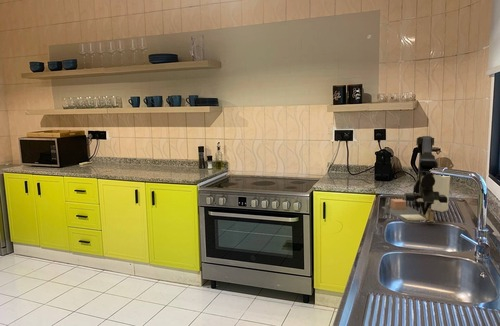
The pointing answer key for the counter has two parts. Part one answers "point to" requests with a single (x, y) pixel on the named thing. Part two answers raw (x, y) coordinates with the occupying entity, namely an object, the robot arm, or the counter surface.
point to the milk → (441, 192)
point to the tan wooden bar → (429, 215)
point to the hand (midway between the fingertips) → (424, 215)
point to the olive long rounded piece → (389, 209)
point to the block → (398, 204)
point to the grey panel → (408, 215)
